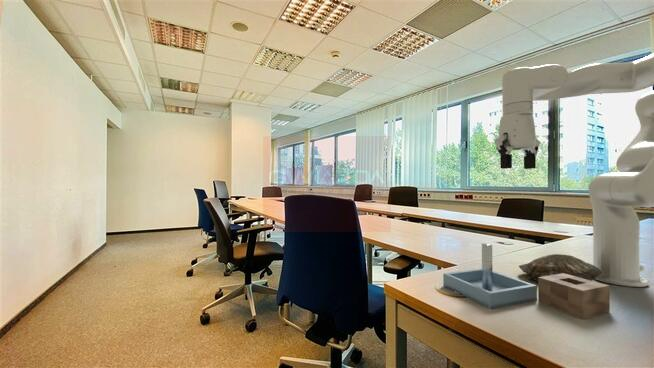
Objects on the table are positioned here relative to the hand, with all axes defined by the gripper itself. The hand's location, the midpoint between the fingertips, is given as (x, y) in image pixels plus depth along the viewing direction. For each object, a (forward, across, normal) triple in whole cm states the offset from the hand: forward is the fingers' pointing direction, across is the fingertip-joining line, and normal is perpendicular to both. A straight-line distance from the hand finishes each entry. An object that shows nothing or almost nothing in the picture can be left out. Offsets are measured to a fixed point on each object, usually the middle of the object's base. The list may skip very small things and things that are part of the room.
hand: (518, 168), depth 83 cm
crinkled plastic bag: (+34, -10, +4) cm, 35 cm away
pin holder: (+33, +7, +18) cm, 38 cm away
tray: (+33, +18, +5) cm, 38 cm away
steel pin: (+32, +18, +5) cm, 37 cm away
